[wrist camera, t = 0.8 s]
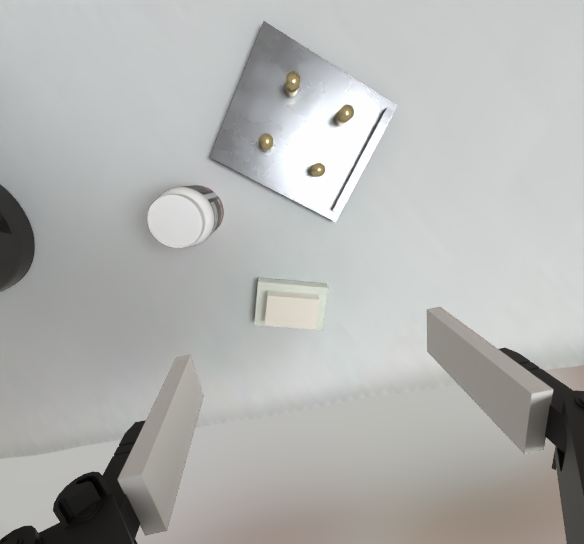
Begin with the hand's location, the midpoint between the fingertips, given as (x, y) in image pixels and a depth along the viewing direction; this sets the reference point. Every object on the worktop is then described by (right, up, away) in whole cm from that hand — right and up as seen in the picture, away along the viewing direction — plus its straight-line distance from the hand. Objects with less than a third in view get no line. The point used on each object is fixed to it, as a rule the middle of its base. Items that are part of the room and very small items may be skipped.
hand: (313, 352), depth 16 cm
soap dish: (-1, 0, +23) cm, 23 cm away
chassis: (0, +20, +17) cm, 26 cm away
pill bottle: (-12, +12, +19) cm, 25 cm away
